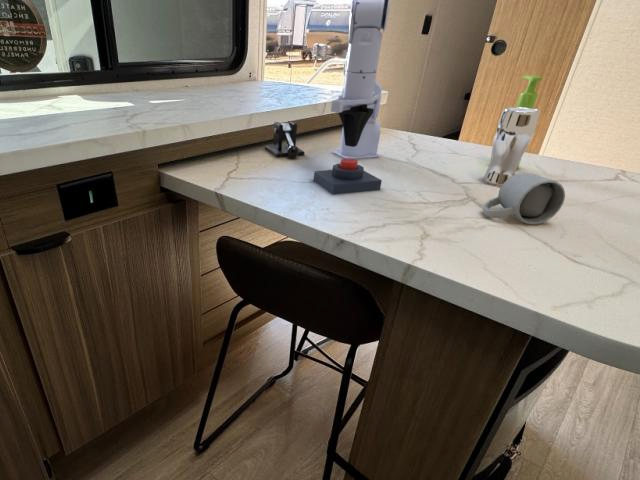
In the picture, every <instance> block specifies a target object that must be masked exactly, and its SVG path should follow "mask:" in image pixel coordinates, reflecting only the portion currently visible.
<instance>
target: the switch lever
mask: <svg viewBox="0 0 640 480" xmlns="http://www.w3.org/2000/svg"><path fill="white" fill-rule="evenodd" d="M280 124H282V125H283V133H282V138H285V141H286V144H288V146H289V149H288V155H289V156H290V157H289V158H297V157H299V156H298V154H299V149H300V148H299V147H298V146H294V145H293V142H292V139H291V137H290V132H291V128H290V126H289V123H288V122H280ZM298 148H299V149H298Z"/></svg>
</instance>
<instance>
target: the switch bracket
mask: <svg viewBox="0 0 640 480" xmlns="http://www.w3.org/2000/svg"><path fill="white" fill-rule="evenodd" d="M287 123H289V126H290V128H291V132H290V137H291V139H292V142H293V145H294V146H296V144H297V131H298V130H297V129H298V124H297V123H296V122H293V121H291V120H288V121H287ZM282 133H283V125H282V124H281V122H278V121H273V141H272V144H265V145H264V150H265V151H266V152H267V153H269V154H270V155H272V156H273V157H275V158H277V159H279V158H291V157H290V156H289V155H288V149H289V146H288V144H287V143H283V137H282ZM298 149H299V154H298V156H297V157H305V151H304V150H302V149H300V148H299V147H298Z"/></svg>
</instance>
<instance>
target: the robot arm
mask: <svg viewBox="0 0 640 480" xmlns="http://www.w3.org/2000/svg"><path fill="white" fill-rule="evenodd" d="M390 6H391V0H351V4H350V11H349V21H348V28H349V29H348V31H349V32H348V33H349V35H348V44H349V47H348V53H347V60H346V69H345V76H344V85H343V87H342V90H341V95H338V98H337V99H333V100H331V104H330V105H331V106H330V112H332V113H337V114H338V116H339V118H340V121H341V124H342V130H341V137H340V146H339V150H333V154H335V155H337V156H339V157H341V158H342V159H355V160H359V159H372V158H379V155H378V150H379V149H378V148H379V144H380V137H381V124H380V122H379V121H378V120H377V119H378V117H379V111H380V108H381V107H380V106H381V102H382V101H381V100H382V90H383V89H382V85H381V84H380V83H379V82H378V81H377V79H376V78H377V73H378V65H379V59H380V54H381V53H380V52H381V47H382V40H383V34H384V33H385V31H386V28H387V24H388V17H389V11H390ZM381 30H382V31H383V32H382V31H381Z"/></svg>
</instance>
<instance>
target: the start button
mask: <svg viewBox="0 0 640 480" xmlns="http://www.w3.org/2000/svg"><path fill="white" fill-rule="evenodd" d="M358 163H359V161H358V159H344V158H341V159H340V162H339V164H340V169H344V170H356V169H357V165H358Z"/></svg>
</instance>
